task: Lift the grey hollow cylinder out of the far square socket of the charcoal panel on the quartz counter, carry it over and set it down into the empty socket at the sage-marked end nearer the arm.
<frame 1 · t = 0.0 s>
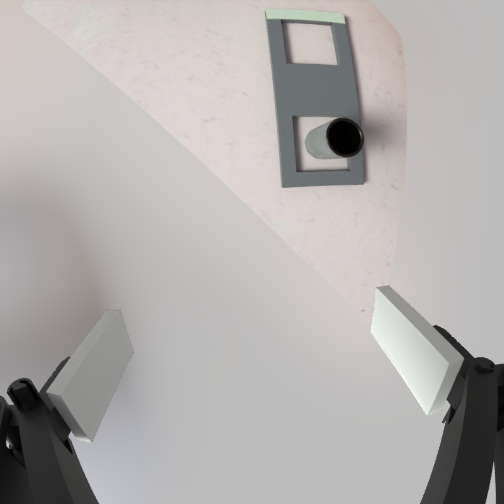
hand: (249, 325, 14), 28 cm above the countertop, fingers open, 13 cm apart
grey hollow cylinder: (319, 143, 38), resting in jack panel
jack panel: (315, 91, 35), on the countertop
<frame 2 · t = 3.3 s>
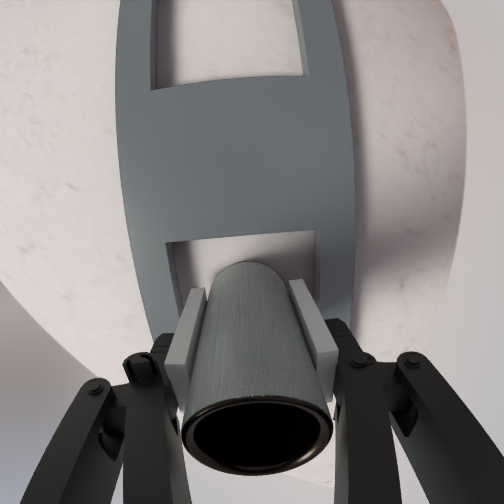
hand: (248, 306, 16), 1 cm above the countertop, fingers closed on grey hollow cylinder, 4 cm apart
grey hollow cylinder: (248, 295, 17), resting in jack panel, touching gripper
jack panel: (235, 156, 14), on the countertop
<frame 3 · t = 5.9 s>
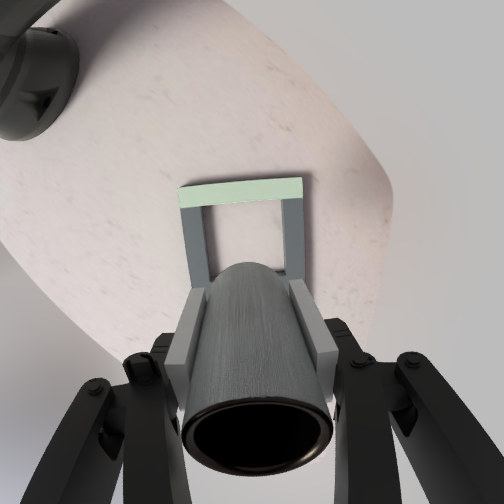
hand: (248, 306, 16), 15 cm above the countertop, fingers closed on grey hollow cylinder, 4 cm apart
grey hollow cylinder: (248, 296, 17), point 13 cm above the countertop, touching gripper
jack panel: (250, 307, 32), on the countertop
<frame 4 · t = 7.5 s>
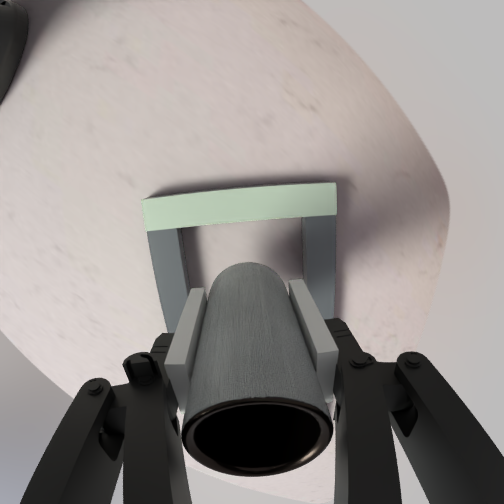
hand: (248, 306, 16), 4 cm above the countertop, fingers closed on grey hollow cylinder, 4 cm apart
grey hollow cylinder: (248, 296, 17), point 3 cm above the countertop, touching gripper
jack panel: (254, 364, 22), on the countertop
when the fingers open (2 cm above the countertop, at t = 8.7 s): grey hollow cylinder stays where it is, resting in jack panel.
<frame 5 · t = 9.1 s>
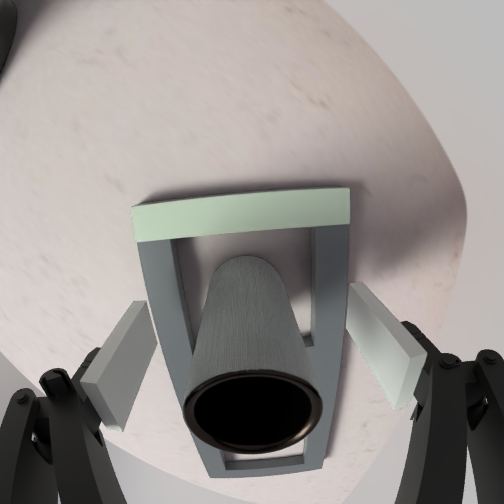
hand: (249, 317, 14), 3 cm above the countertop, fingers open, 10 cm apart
grey hollow cylinder: (246, 288, 18), resting in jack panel
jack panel: (256, 383, 20), on the countertop
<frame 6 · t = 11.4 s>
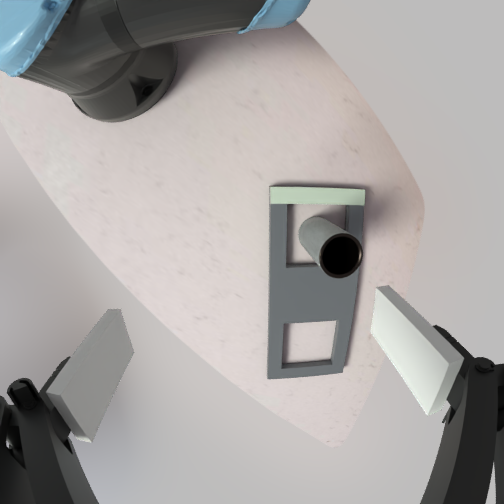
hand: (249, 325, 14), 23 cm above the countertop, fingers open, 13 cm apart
grey hollow cylinder: (315, 233, 36), resting in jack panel
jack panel: (312, 292, 38), on the countertop
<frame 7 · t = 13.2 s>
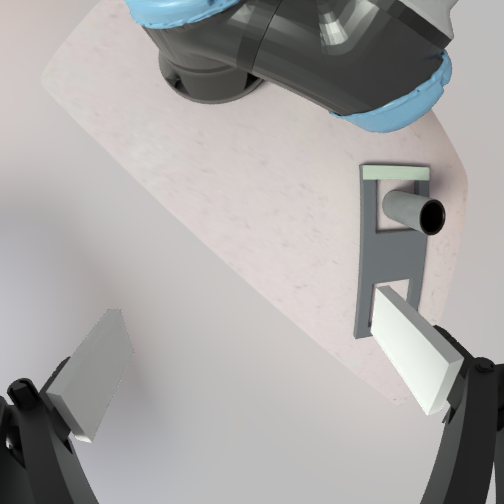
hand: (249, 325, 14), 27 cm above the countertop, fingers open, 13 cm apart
grey hollow cylinder: (393, 204, 39), resting in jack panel
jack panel: (392, 255, 42), on the countertop
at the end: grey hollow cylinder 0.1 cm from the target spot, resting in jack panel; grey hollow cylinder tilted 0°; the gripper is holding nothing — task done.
